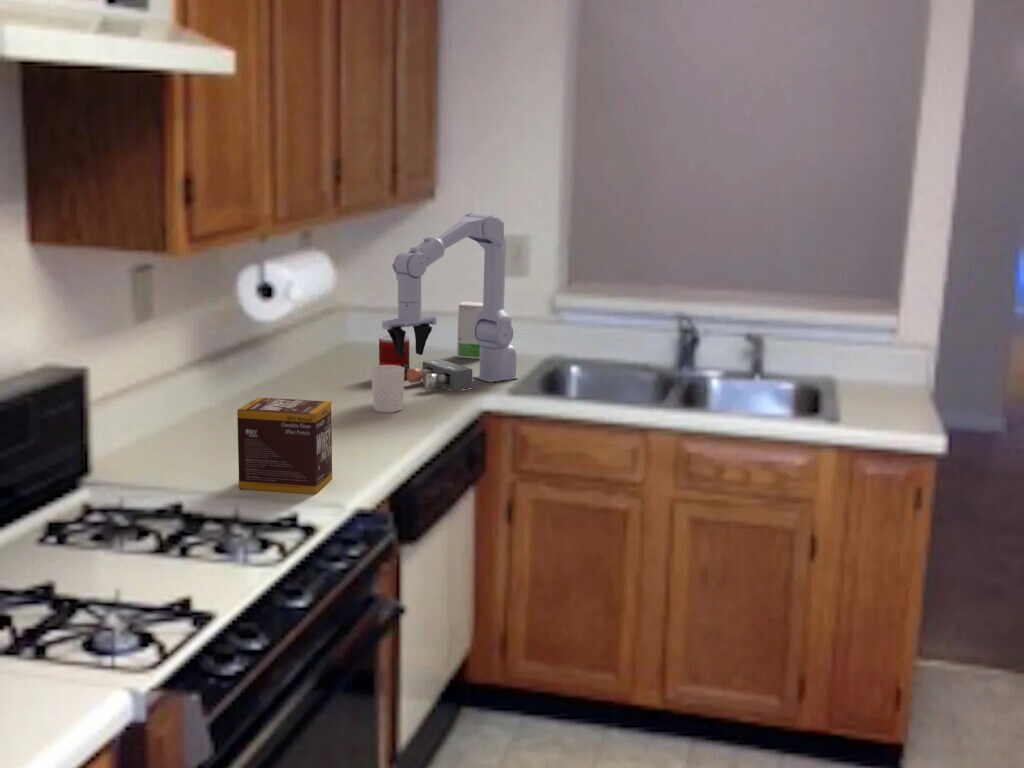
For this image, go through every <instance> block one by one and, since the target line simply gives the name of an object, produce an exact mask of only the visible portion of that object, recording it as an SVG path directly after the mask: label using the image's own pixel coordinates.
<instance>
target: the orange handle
mask: <svg viewBox="0 0 1024 768" xmlns="http://www.w3.org/2000/svg"><path fill="white" fill-rule="evenodd" d="M432 373H433V369H426V370H423V369H420V368H419V367H413V368H409V369H408V370H407V380H406V381H408V382H409V383H411V384H412V383H419V382H422V381H423V377H424V375H425V374H432Z"/></svg>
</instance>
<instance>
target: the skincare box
mask: <svg viewBox="0 0 1024 768" xmlns="http://www.w3.org/2000/svg"><path fill="white" fill-rule="evenodd" d="M482 310H483V302H478V301H477V302H476V301H462V302H461V303H459V304H458V317H457V319H458V320H457V343H456V344H457V347H456V357H457V358H458V359H459V358H461V359H473V360H480V345H478V341H477V340H476V339H475V337H474V326H475V324H476V320H477V314H478V313H479V312H481V311H482Z"/></svg>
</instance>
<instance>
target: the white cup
mask: <svg viewBox="0 0 1024 768" xmlns="http://www.w3.org/2000/svg"><path fill="white" fill-rule="evenodd" d="M404 372H405V368H404V367H402V366H396V365H380V366H379V365H375V366H372V367H370V373H371V391H372V399H373V410H374V411H376V412H379V413H396V411H398V412H400V411H399V410H401V411H402V410H403V406H404V405H403V403H404V401H403V400H404V391H405V381H404Z"/></svg>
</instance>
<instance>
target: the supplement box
mask: <svg viewBox="0 0 1024 768" xmlns="http://www.w3.org/2000/svg"><path fill="white" fill-rule="evenodd" d="M236 411H237V413H236V414H237V418H236V419H237V453H238V454H237V455H238V457H237V459H238V489H239V488H243V489H242V490H247V489H253V490H252V491H261V490H262V491H261V492H264V491H265V492H274V493H275V492H276V493H277V492H278V493H292V494H303V495H317V494H318V493H319V492H320V491H321V490H322V489H323V488H324V487H326V486H327V485H328V484H329V483H330V482H331V481H332V480H333V447H332V445H333V441H332V440H333V439H332V436H333V435H332V434H333V433H332V401H331V400H330V401H328V400H307V399H306V400H305V399H291V398H271V397H257V398H255V399H253V400H252V401H250V402H248V403H246V404H244V405H243V406H242V407H239V408H238V409H236Z"/></svg>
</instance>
